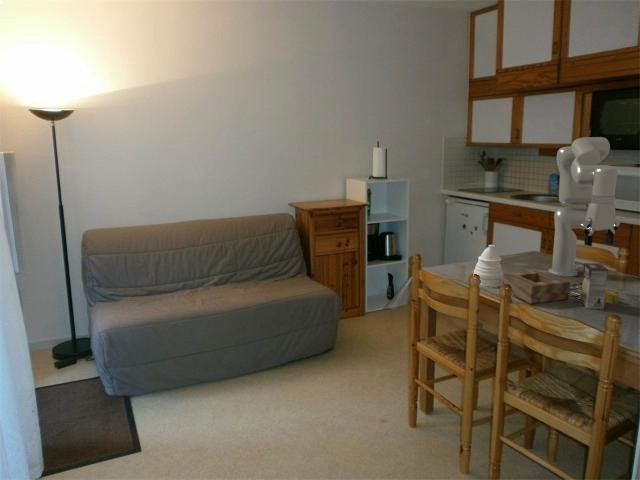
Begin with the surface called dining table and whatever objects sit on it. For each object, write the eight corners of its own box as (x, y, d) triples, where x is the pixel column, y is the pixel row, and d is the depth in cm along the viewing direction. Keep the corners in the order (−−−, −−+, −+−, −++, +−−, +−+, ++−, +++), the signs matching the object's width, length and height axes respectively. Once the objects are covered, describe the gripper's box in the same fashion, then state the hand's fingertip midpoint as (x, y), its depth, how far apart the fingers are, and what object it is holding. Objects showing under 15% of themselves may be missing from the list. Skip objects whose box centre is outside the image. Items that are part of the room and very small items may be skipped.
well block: (538, 287, 226) (540, 270, 224) (568, 300, 209) (570, 281, 207) (503, 291, 221) (504, 273, 220) (530, 305, 204) (532, 286, 203)
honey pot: (507, 286, 228) (510, 247, 224) (479, 288, 227) (481, 248, 223) (495, 278, 241) (498, 240, 237) (468, 279, 240) (470, 241, 236)
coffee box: (579, 300, 209) (583, 262, 205) (597, 301, 208) (601, 263, 204) (586, 308, 200) (590, 268, 197) (604, 309, 199) (608, 269, 195)
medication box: (589, 295, 216) (590, 286, 215) (594, 294, 216) (595, 285, 215) (613, 305, 204) (614, 295, 203) (618, 304, 205) (619, 294, 204)
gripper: (613, 197, 200) (609, 240, 204) (576, 200, 196) (572, 244, 199) (629, 200, 193) (624, 244, 197) (591, 202, 189) (587, 248, 192)
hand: (598, 244), depth 198 cm, fingers open, 9 cm apart
